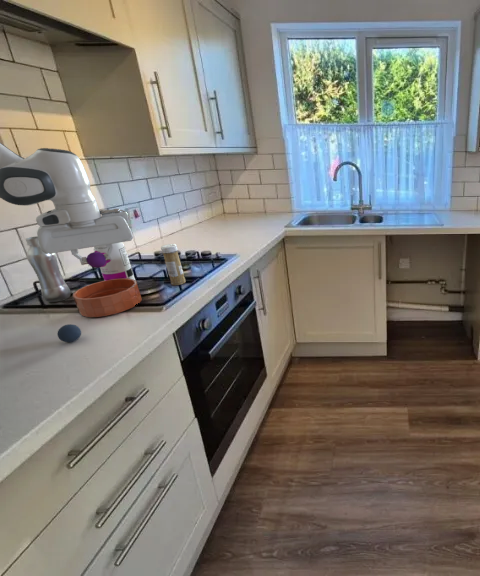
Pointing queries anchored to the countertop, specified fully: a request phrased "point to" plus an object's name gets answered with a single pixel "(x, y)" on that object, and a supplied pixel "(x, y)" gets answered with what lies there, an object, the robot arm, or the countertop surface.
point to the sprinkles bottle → (173, 264)
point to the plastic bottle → (47, 272)
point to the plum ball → (96, 259)
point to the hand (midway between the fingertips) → (97, 261)
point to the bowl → (107, 297)
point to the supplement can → (116, 262)
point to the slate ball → (69, 333)
